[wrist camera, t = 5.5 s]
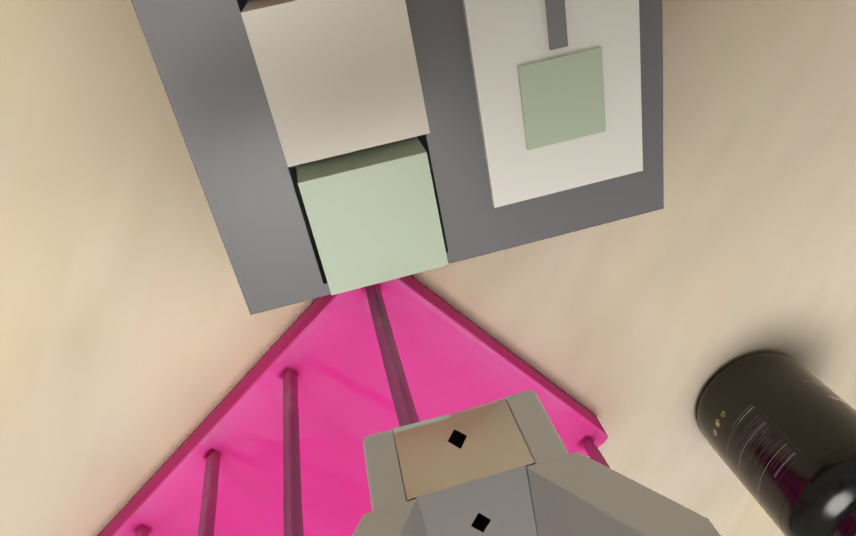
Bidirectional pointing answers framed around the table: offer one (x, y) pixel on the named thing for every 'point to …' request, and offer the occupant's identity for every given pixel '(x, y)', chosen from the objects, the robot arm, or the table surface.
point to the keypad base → (435, 126)
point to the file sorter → (335, 417)
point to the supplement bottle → (785, 442)
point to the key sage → (373, 214)
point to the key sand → (336, 74)
